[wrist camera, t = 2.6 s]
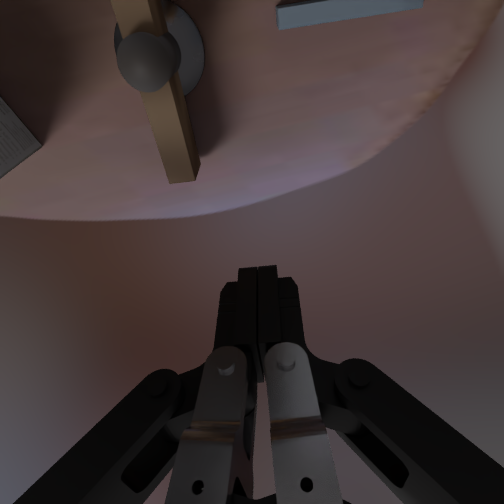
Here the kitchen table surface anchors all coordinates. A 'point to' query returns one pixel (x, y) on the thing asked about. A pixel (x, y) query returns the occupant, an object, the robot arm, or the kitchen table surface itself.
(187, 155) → the tan wooden bar
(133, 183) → the kitchen table surface
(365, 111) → the kitchen table surface
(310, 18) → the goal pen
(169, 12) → the pivot base
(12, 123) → the light bulb box
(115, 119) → the kitchen table surface
